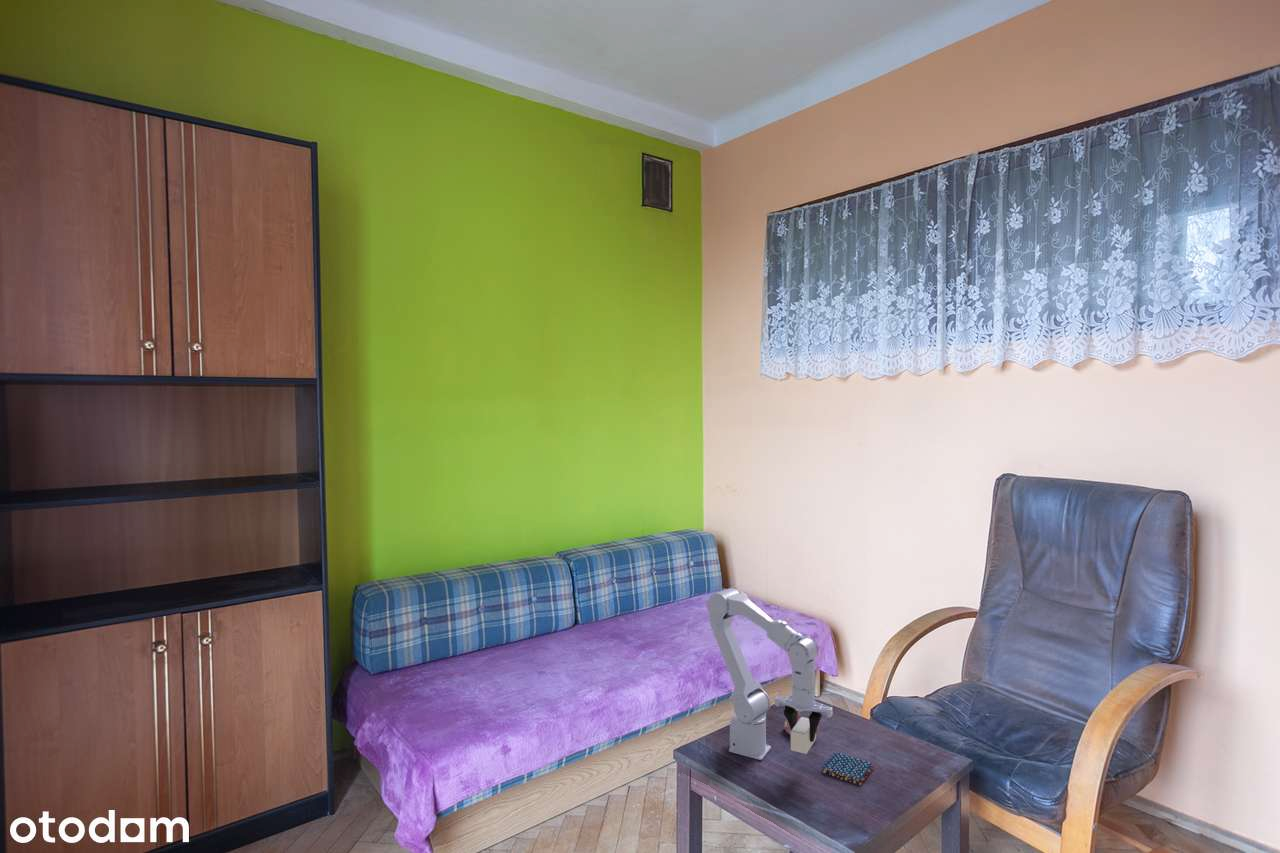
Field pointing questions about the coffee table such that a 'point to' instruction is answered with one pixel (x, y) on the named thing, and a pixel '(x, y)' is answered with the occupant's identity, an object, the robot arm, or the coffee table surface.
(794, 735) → the painted block
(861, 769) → the woven mat
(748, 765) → the coffee table surface
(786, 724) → the pink curved figurine
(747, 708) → the robot arm
